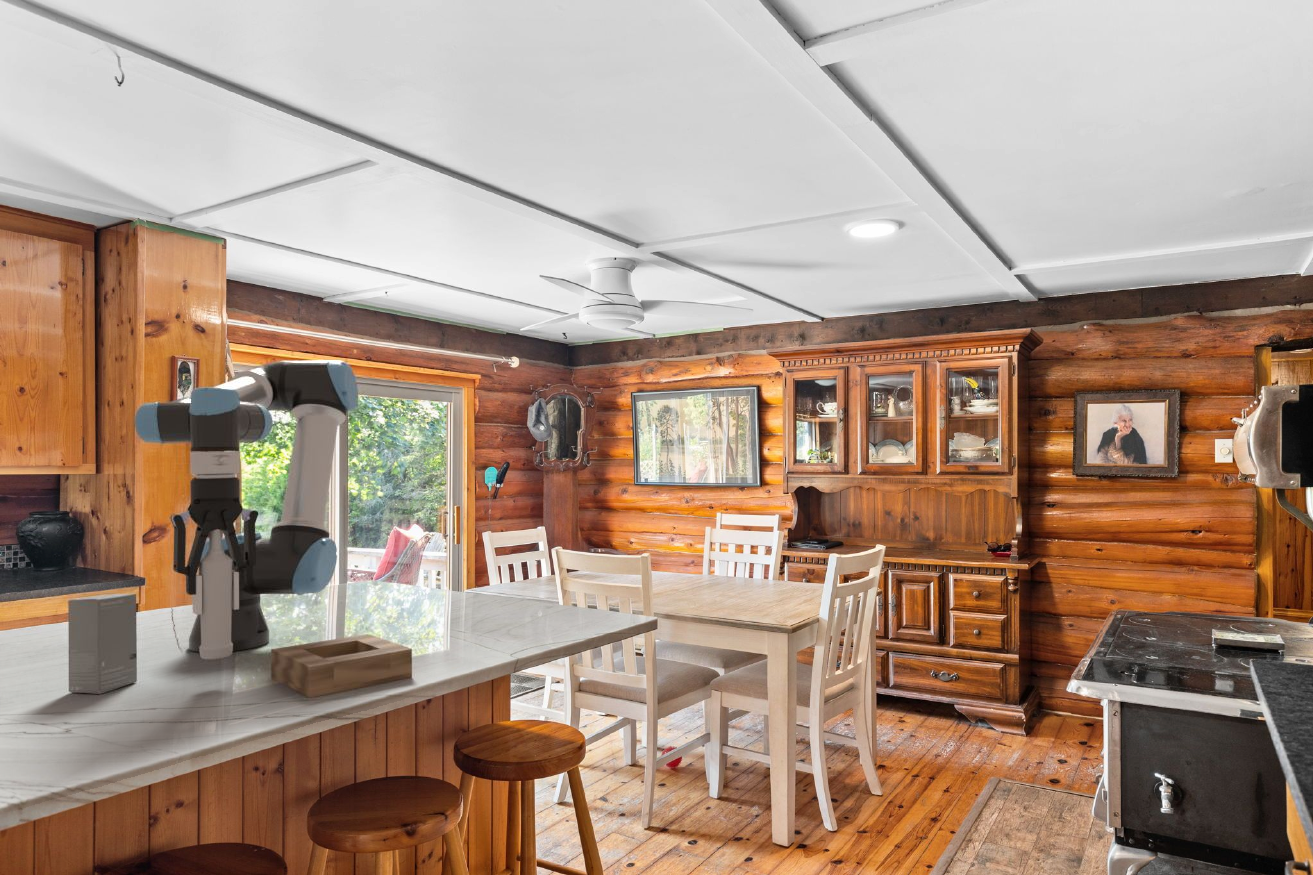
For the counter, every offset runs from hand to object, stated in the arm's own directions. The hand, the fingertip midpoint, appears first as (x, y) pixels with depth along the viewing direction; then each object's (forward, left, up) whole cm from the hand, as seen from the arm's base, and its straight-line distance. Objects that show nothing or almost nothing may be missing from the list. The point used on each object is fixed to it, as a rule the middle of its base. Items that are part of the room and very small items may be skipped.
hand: (216, 610), depth 144 cm
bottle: (0, 0, -8) cm, 8 cm away
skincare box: (-13, -14, -13) cm, 23 cm away
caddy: (+10, +18, -13) cm, 24 cm away
